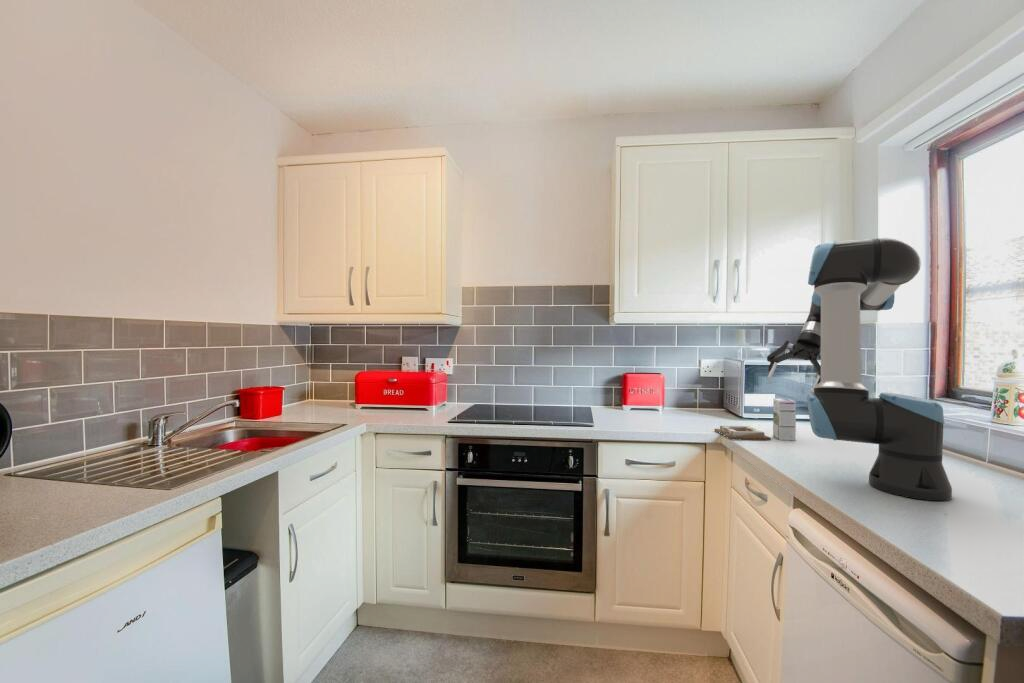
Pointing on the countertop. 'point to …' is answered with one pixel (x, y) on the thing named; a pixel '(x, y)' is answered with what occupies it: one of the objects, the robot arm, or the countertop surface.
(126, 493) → the countertop surface
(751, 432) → the board
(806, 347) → the robot arm
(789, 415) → the syrup box
